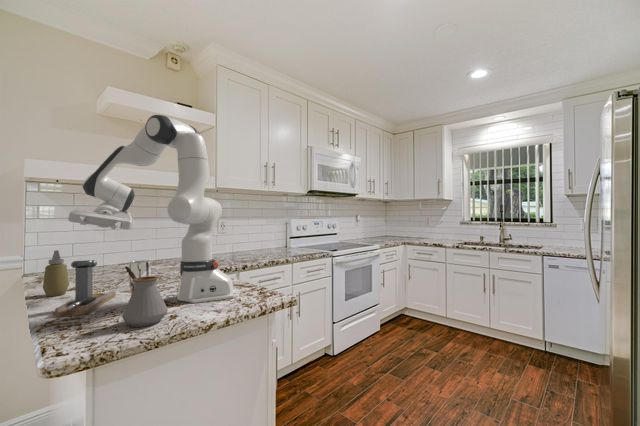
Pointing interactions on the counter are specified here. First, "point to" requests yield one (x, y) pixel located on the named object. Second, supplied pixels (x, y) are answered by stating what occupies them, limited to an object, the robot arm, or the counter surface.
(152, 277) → the coffee pot
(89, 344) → the counter surface
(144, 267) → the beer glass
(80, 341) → the counter surface
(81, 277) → the handle
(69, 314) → the track
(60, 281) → the squeeze bottle
